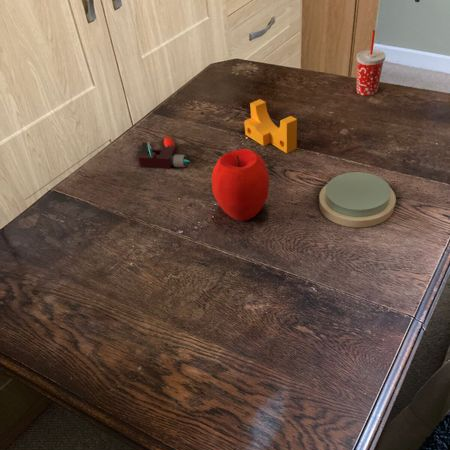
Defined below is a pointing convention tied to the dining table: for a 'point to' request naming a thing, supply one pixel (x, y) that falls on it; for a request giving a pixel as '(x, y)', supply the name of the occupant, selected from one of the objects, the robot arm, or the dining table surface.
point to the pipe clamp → (271, 128)
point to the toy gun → (161, 156)
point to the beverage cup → (369, 70)
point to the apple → (240, 183)
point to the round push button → (357, 200)
